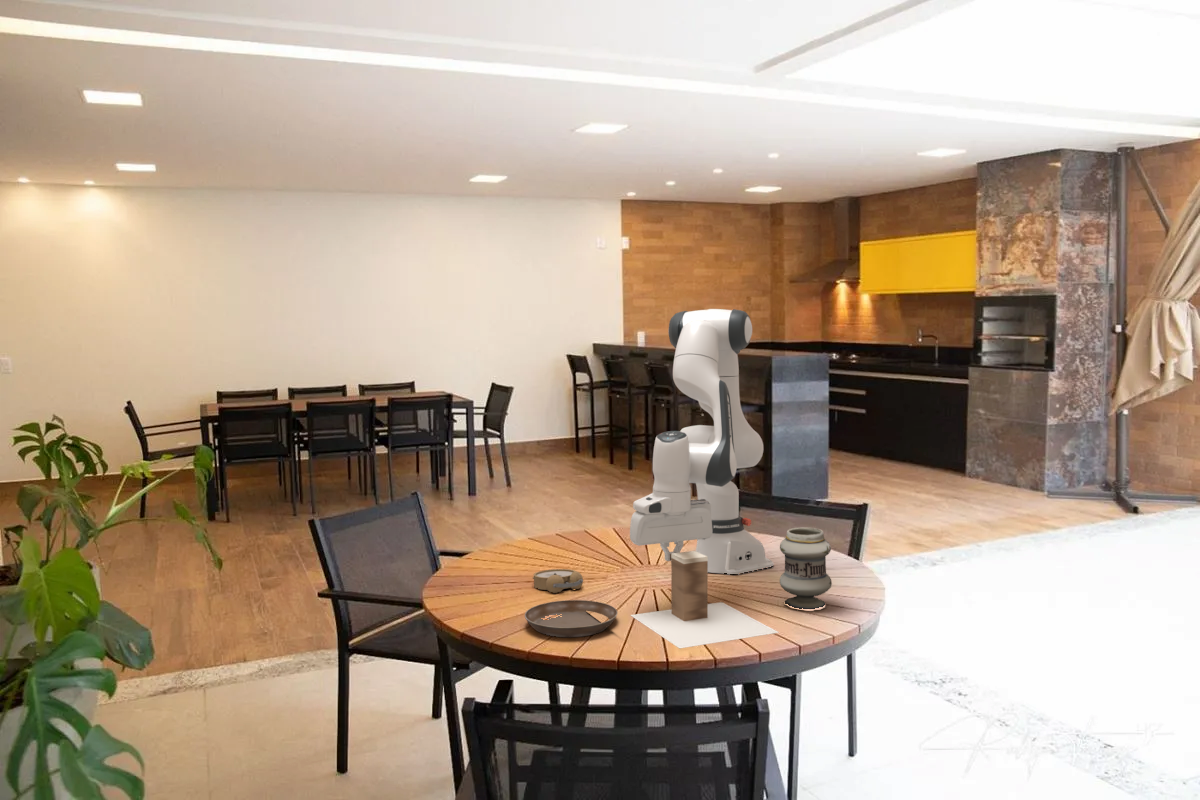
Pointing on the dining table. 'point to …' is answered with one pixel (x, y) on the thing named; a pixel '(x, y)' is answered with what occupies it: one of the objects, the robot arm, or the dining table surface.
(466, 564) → the dining table surface
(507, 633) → the dining table surface
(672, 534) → the robot arm
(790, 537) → the apothecary jar
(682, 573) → the walnut block
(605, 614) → the plant saucer
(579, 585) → the alarm clock
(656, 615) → the white mat
